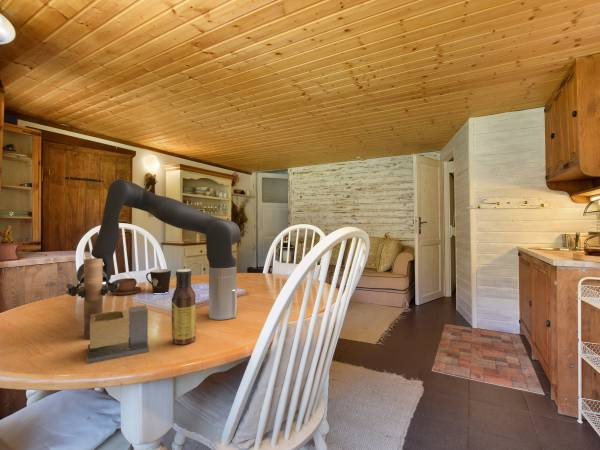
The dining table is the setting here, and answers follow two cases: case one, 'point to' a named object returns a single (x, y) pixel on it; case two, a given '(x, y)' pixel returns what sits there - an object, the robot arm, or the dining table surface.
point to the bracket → (118, 334)
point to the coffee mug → (160, 280)
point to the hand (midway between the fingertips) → (93, 293)
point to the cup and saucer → (127, 287)
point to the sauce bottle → (183, 309)
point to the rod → (92, 291)
